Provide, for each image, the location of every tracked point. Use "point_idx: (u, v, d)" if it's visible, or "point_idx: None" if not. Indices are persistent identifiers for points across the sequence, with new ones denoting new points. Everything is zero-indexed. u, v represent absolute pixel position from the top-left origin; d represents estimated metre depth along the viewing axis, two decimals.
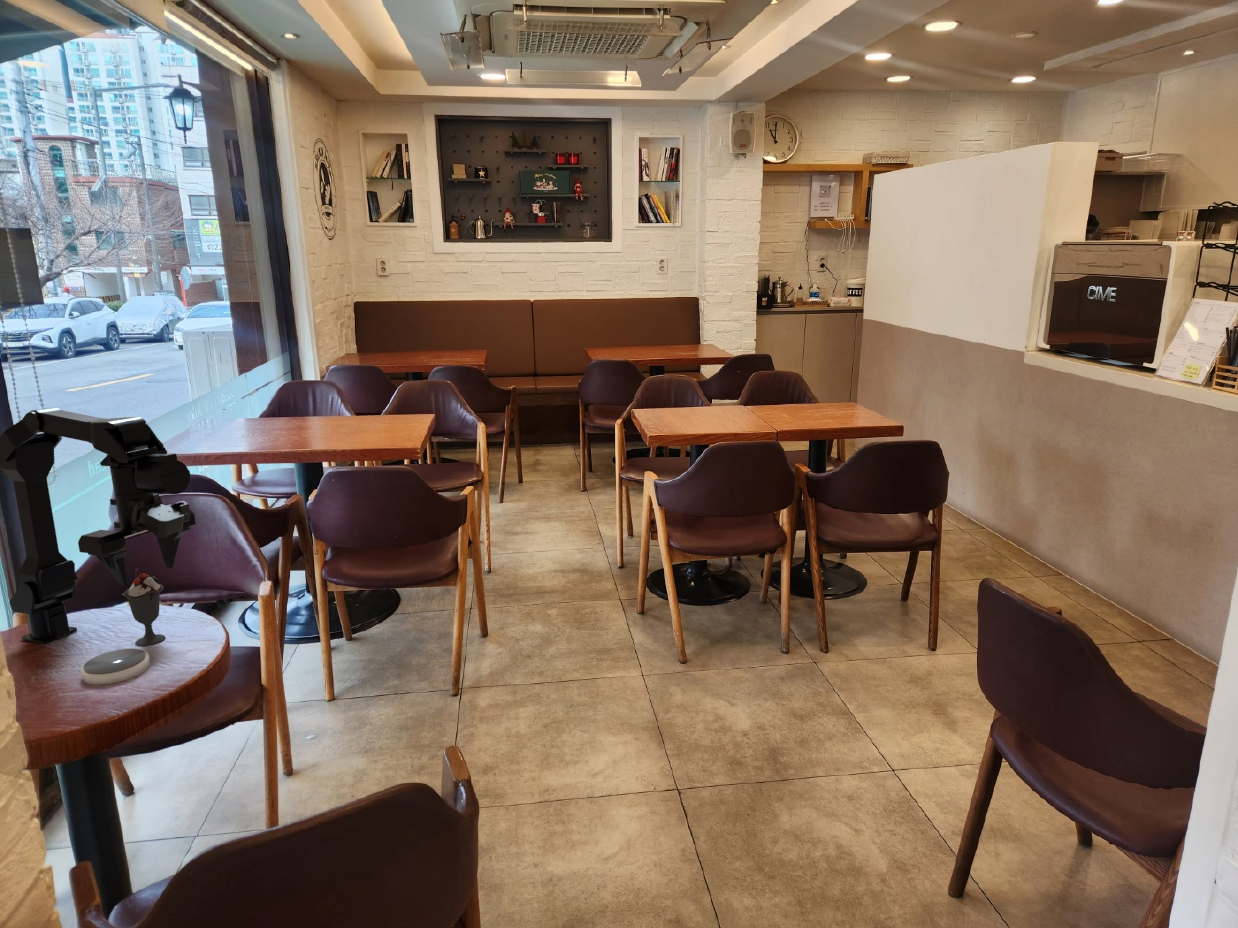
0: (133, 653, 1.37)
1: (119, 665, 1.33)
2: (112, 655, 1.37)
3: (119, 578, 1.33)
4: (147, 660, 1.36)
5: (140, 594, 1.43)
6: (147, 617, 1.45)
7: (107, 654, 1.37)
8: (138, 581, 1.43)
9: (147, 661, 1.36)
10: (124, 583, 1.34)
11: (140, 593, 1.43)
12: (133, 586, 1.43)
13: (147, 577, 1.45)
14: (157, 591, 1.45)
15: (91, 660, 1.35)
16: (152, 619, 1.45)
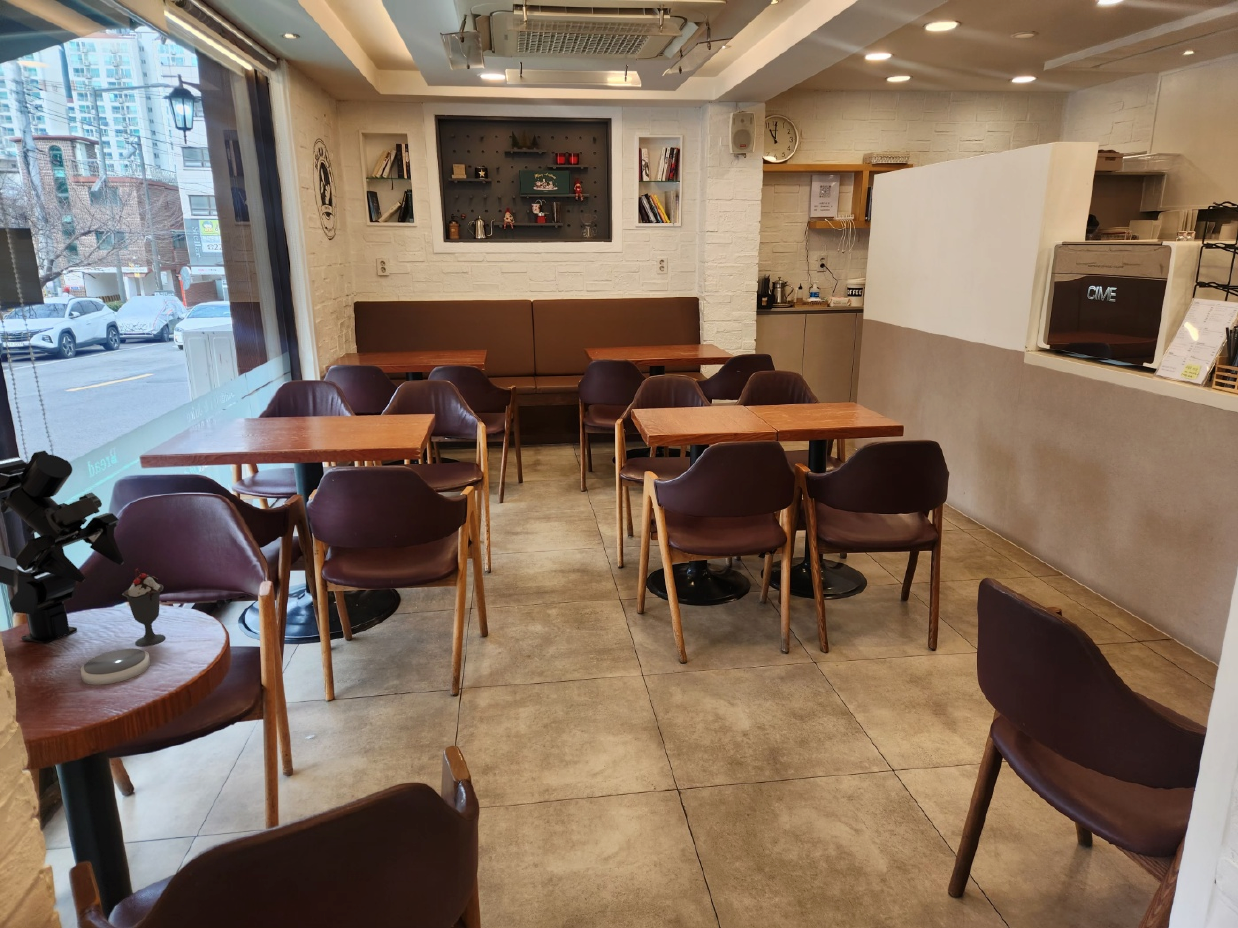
0: (133, 653, 1.37)
1: (119, 665, 1.33)
2: (112, 655, 1.37)
3: (74, 575, 1.40)
4: (147, 660, 1.36)
5: (140, 594, 1.43)
6: (147, 617, 1.45)
7: (107, 654, 1.37)
8: (138, 581, 1.43)
9: (147, 661, 1.36)
10: (82, 577, 1.41)
11: (140, 593, 1.43)
12: (133, 586, 1.43)
13: (147, 577, 1.45)
14: (157, 591, 1.45)
15: (91, 660, 1.35)
16: (152, 619, 1.45)
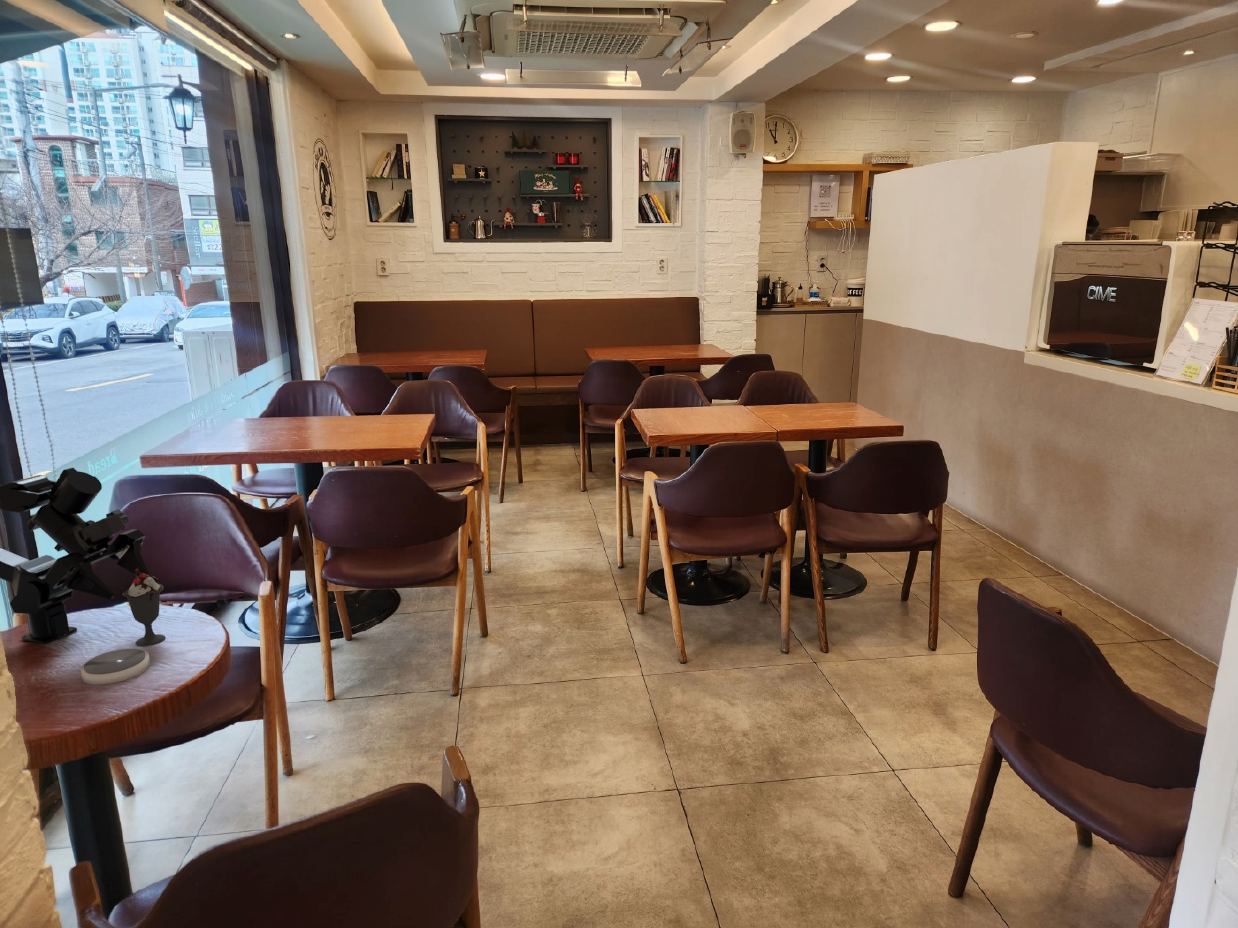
0: (133, 653, 1.37)
1: (119, 665, 1.33)
2: (112, 655, 1.37)
3: (103, 592, 1.40)
4: (147, 660, 1.36)
5: (140, 594, 1.43)
6: (147, 617, 1.45)
7: (107, 654, 1.37)
8: (138, 581, 1.43)
9: (147, 661, 1.36)
10: (110, 594, 1.41)
11: (140, 593, 1.43)
12: (133, 586, 1.43)
13: (147, 577, 1.45)
14: (157, 591, 1.45)
15: (91, 660, 1.35)
16: (152, 619, 1.45)
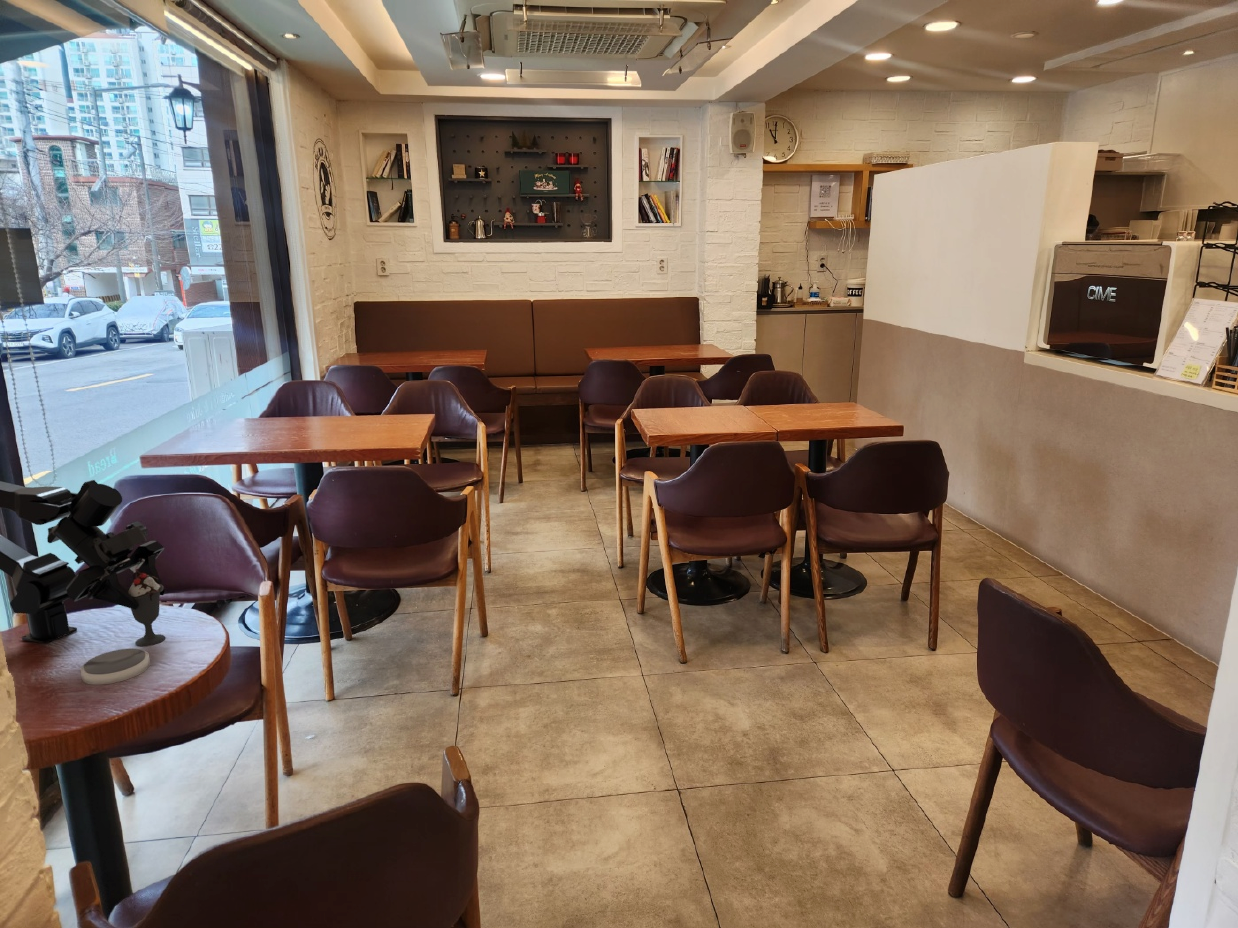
0: (133, 653, 1.37)
1: (119, 665, 1.33)
2: (112, 655, 1.37)
3: (128, 603, 1.41)
4: (147, 660, 1.36)
5: (140, 594, 1.43)
6: (147, 617, 1.45)
7: (107, 654, 1.37)
8: (138, 581, 1.43)
9: (147, 661, 1.36)
10: (135, 604, 1.42)
11: (140, 593, 1.43)
12: (133, 586, 1.43)
13: (147, 577, 1.45)
14: (157, 591, 1.45)
15: (91, 660, 1.35)
16: (152, 619, 1.45)
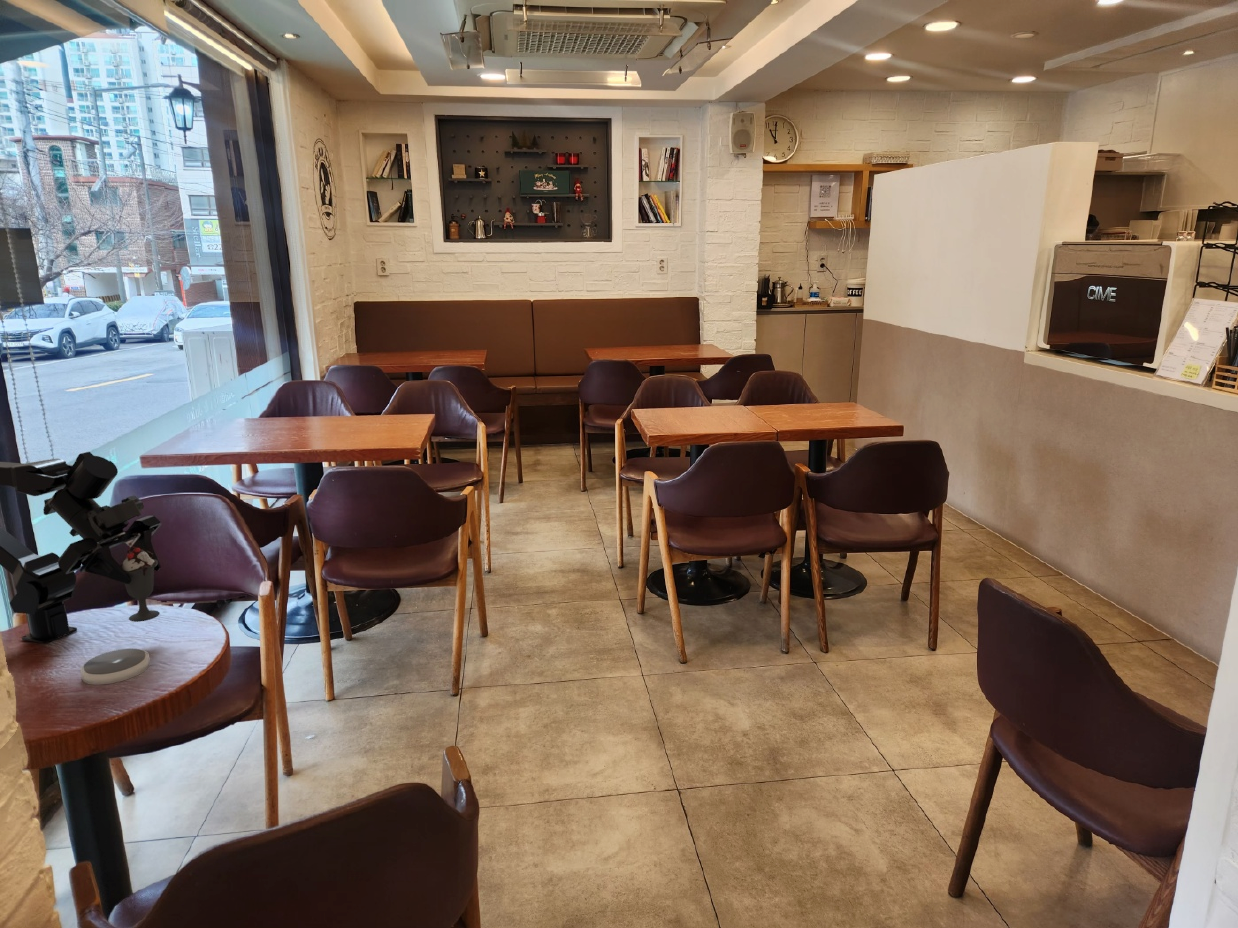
0: (133, 653, 1.37)
1: (119, 665, 1.33)
2: (112, 655, 1.37)
3: (121, 577, 1.39)
4: (147, 660, 1.36)
5: (133, 568, 1.40)
6: (140, 592, 1.42)
7: (107, 654, 1.37)
8: (131, 555, 1.41)
9: (147, 661, 1.36)
10: (128, 578, 1.39)
11: (133, 568, 1.40)
12: (126, 560, 1.41)
13: (141, 552, 1.42)
14: (151, 566, 1.42)
15: (91, 660, 1.35)
16: (146, 594, 1.43)
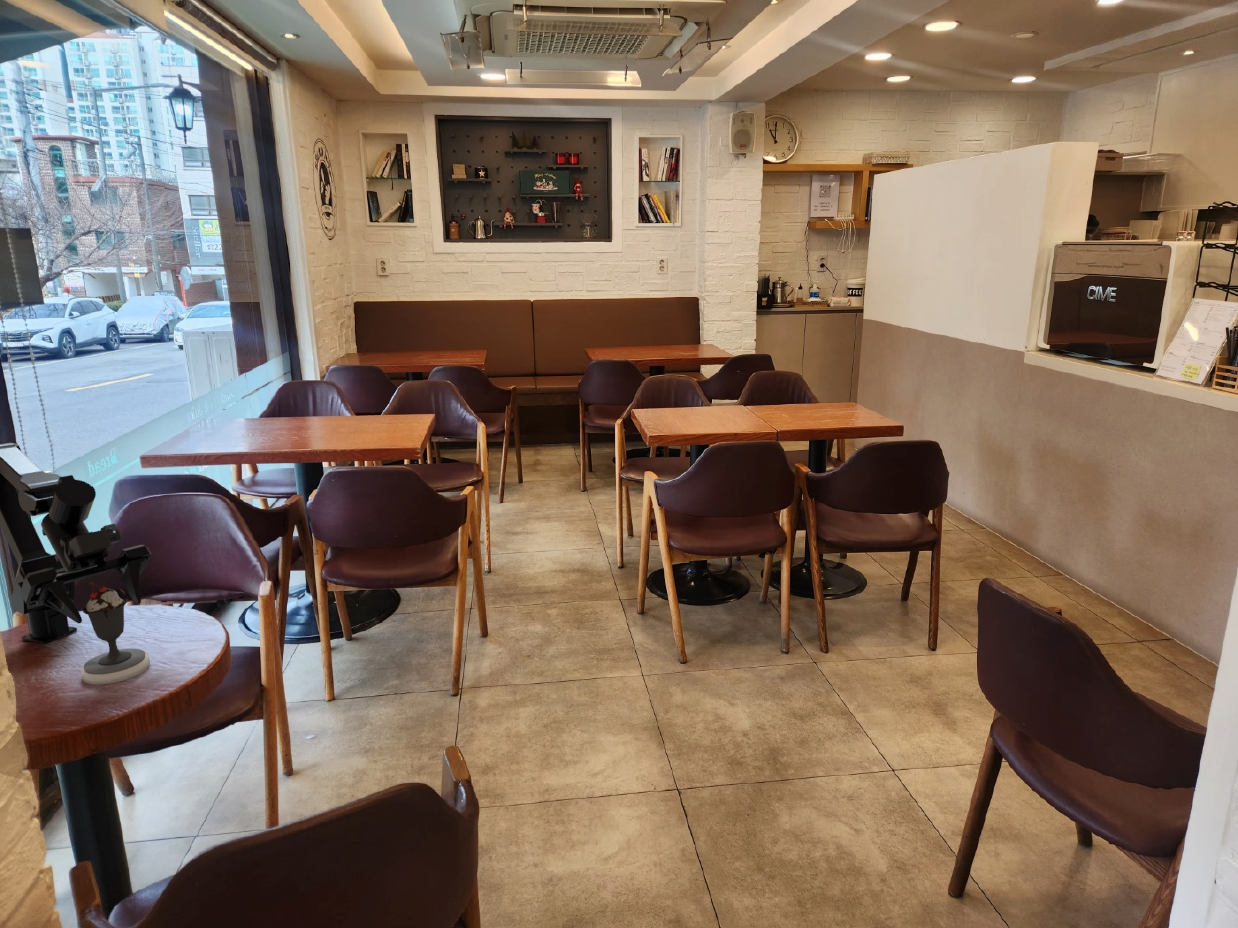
0: (133, 653, 1.37)
1: (119, 665, 1.33)
2: None
3: (71, 615, 1.29)
4: (147, 660, 1.36)
5: (93, 610, 1.30)
6: (104, 635, 1.32)
7: (107, 654, 1.37)
8: (94, 595, 1.31)
9: (147, 661, 1.36)
10: (77, 618, 1.28)
11: (93, 609, 1.30)
12: (90, 600, 1.31)
13: (107, 591, 1.32)
14: (113, 608, 1.32)
15: (91, 660, 1.35)
16: (111, 637, 1.33)
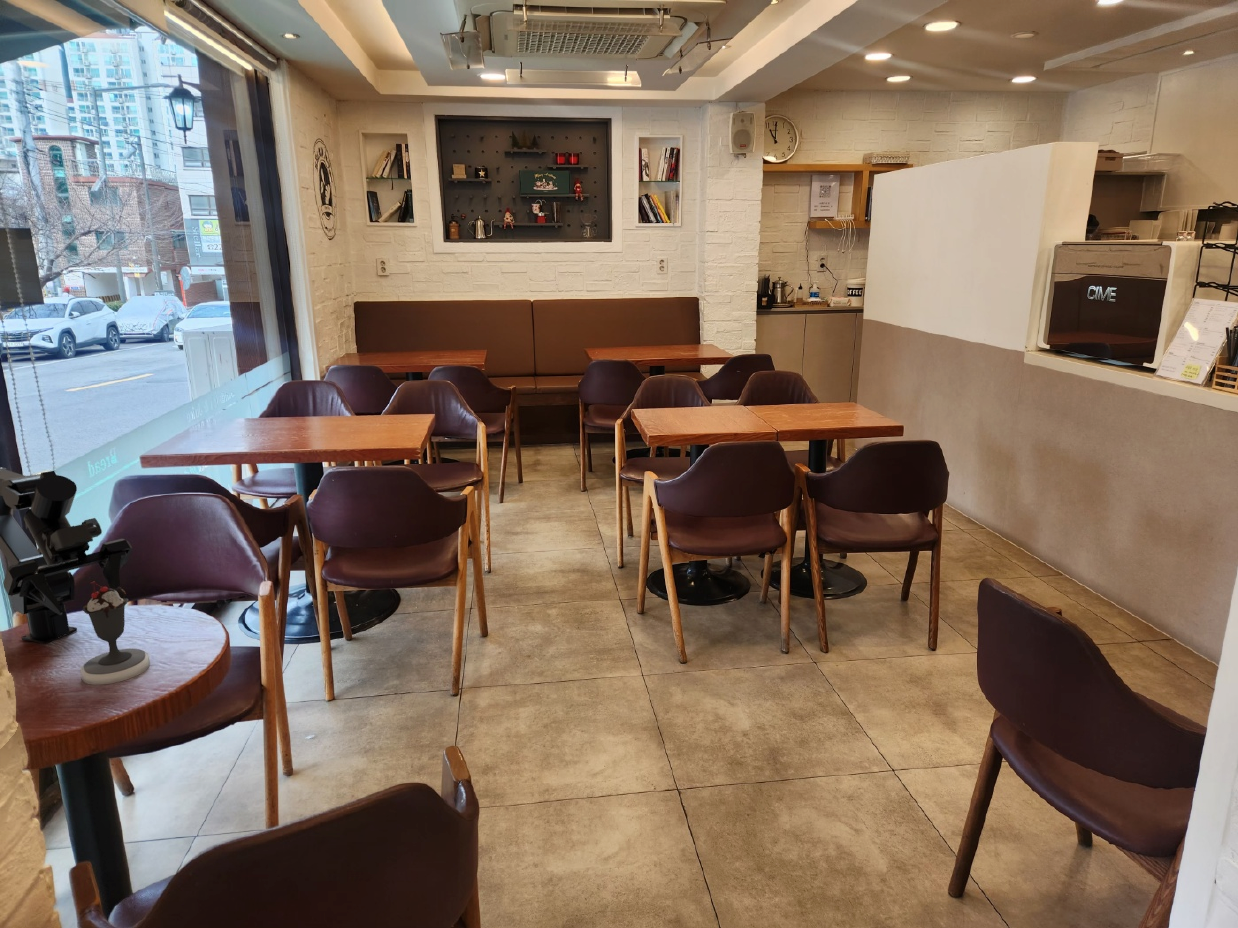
0: (133, 653, 1.37)
1: (119, 665, 1.33)
2: None
3: (52, 606, 1.32)
4: (147, 660, 1.36)
5: (94, 609, 1.30)
6: (105, 635, 1.32)
7: (107, 654, 1.37)
8: (95, 595, 1.31)
9: (147, 661, 1.36)
10: (58, 609, 1.32)
11: (94, 609, 1.30)
12: (91, 600, 1.31)
13: (108, 591, 1.32)
14: (114, 608, 1.32)
15: (91, 660, 1.35)
16: (111, 637, 1.33)
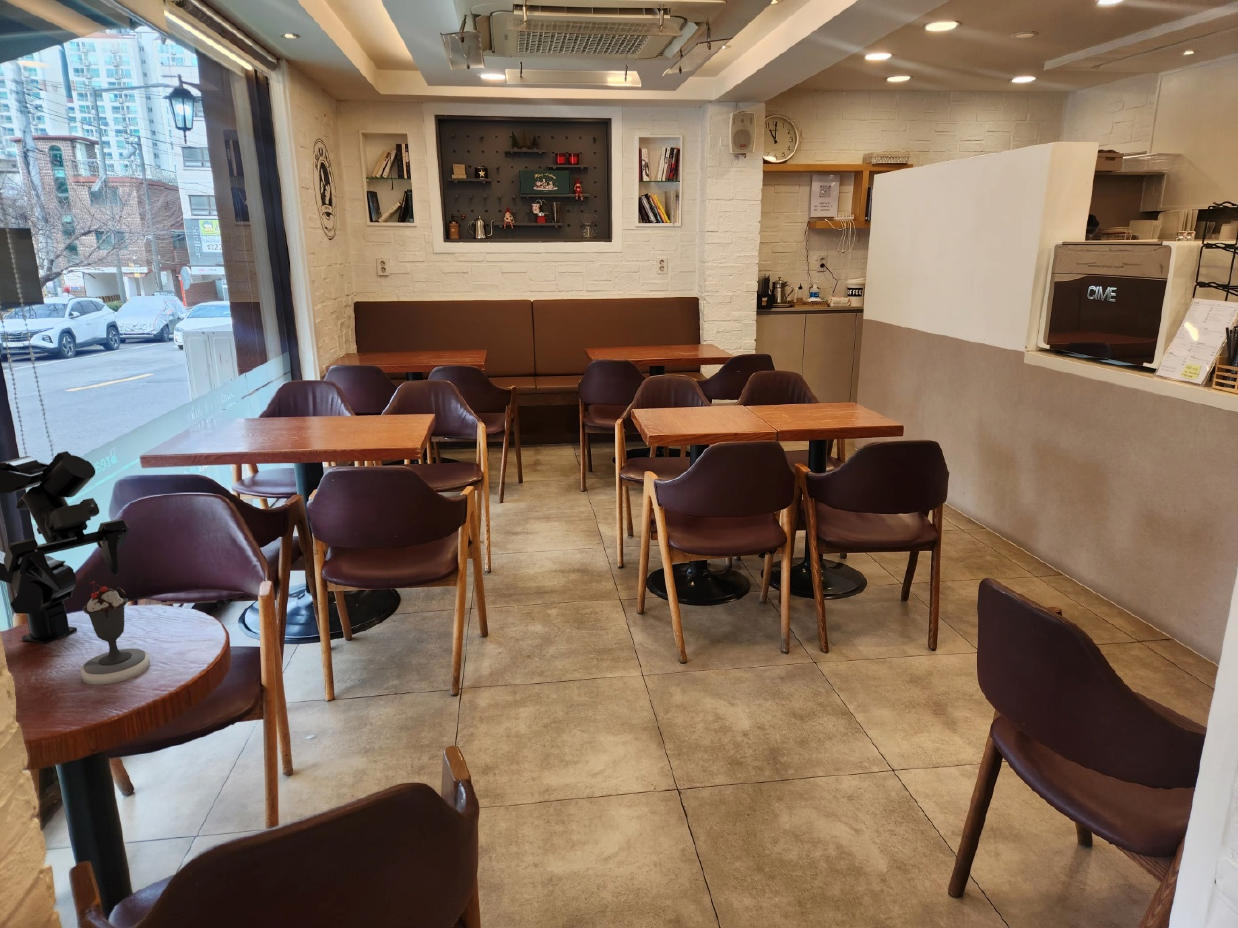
0: (133, 653, 1.37)
1: (119, 665, 1.33)
2: None
3: (52, 583, 1.36)
4: (147, 660, 1.36)
5: (94, 609, 1.30)
6: (105, 635, 1.32)
7: (107, 654, 1.37)
8: (94, 595, 1.31)
9: (147, 661, 1.36)
10: (57, 586, 1.36)
11: (94, 609, 1.30)
12: (91, 600, 1.31)
13: (108, 591, 1.32)
14: (114, 608, 1.32)
15: (91, 660, 1.35)
16: (111, 637, 1.33)
